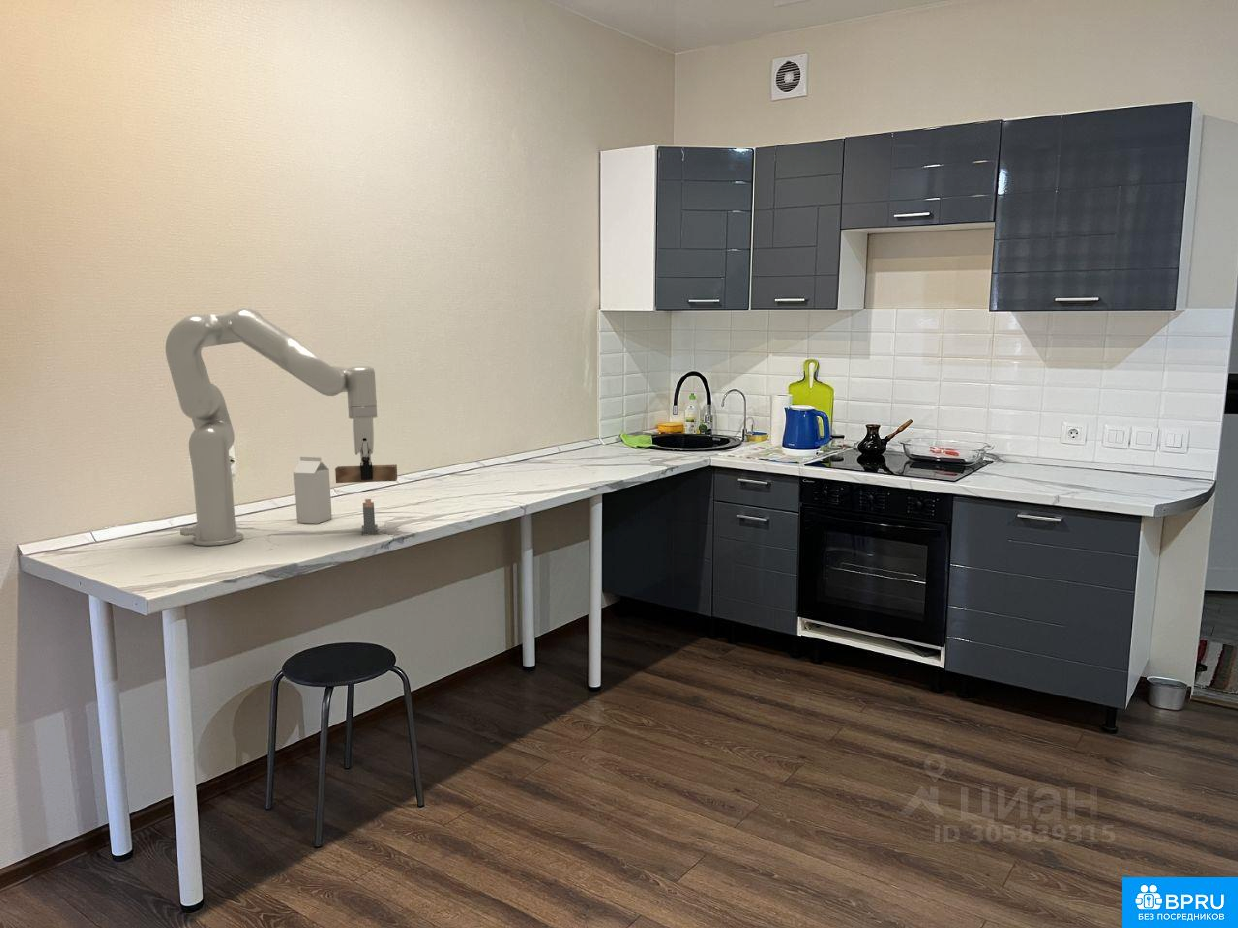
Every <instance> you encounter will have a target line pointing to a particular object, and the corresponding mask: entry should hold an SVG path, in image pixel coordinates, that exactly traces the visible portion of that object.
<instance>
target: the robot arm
mask: <svg viewBox="0 0 1238 928" xmlns="http://www.w3.org/2000/svg"><path fill="white" fill-rule="evenodd" d="M237 343H242V344H244V345H245V346H246V347H249V348H250V349H252V350H253V351H256V352H257V353H258V354H260V355H261V356H263V357H264V358H265V359H268V360H269V361H271V362H272V363H273V364H275V365H277V366H278V367H279V368H281V369H283V370H284V371H286V372H288V373H289V374H291V375H292V376H293V377H295V378H296V379H298V380H299V381H301V382H302V383H303V384H305V385H306V386H308V387H310V388H312V389H313V390H315V391H317V392H318V393H319V394H322V395H324V396H327V397H335V396H337V395H339V394H341V393H347V405H348V406H347V407H348V418H349V419H352V420H353V421H352V433H353V434H352V435H353V445H354V455H356V456H357V455H358V454H359V456H360V457H359V458H360V463H359V466H360V473H361V480H372V479H373V470H372V465H373V462H372V456H371V455H372V454H373V453H374V445H375V444H374V441H375V432H374V418H378V406H377V405H378V403H377V402H378V401H377V387H376V386H377V385H376V384H377V383H376V372H375V369H374V368H373V367H371V366H350V367H344V366H334V365H333V366H331V365H329V364H328V363H327V362H325V361H323V360H322V359H321V358H319V357H317V356H316V355H314V354H313V353H311V352H310V351H309V350H308V349H307V348H306V347H304V346H303V345H302V344H301V342H300V341H299V340H298V339H296V338H295V337H294V336H293V335H291V334H290V333H288V332H287V331H285V330H283V329H282V328H280V327H278V326H277V325H276V324H274V323H272V322H271V321H269V320H268V319H266V318H265V317H264V316H263V315H262V314H261V313H260V312H259V311H257V310H256V309H252V308H239V309H237V310H235V311H226V312H218V313H209V314H191V315H188V316H186V317H184V318H183V319H180V320H179V321H178V322H177V323H176V324H175V325H173V327H172V328H171V330H170V331H169V333H168V335H167V337H166V341H165V354H166V355H165V356H166V361H167V365H168V367H169V371H170V374H171V379H172V381H173V385H174V388H175V389H174V390H175V393H176V395H177V399H178V404H179V407H180V410H181V411H182V413H183V414H184V415H185V416H186V417H187V418H189V419H191V421H192V424H193V427H194V430H193V431H192V433H191V434H190V436H189V440H188V452H189V456H190V463H191V469H192V478H193V489H194V500H195V501H194V502H195V511H196V512H195V513H196V514H195V515H196V525H194V526H192V527H181V528H179V534H180V536H184V537H187V536H188V537H189V536H193V537H192V539H191V543H192V544H193V545H195V546H201V547H203V546H204V547H205V546H206V547H209V546H210V547H211V546H221V545H222V546H223V545H229V544H233V543H236V542H239V541H242V540H243V539H244V534H243V533H241V532H240V531H237V523H236V509H235V497H234V496H235V495H234V483H233V472H232V464H231V458H230V457H231V456H230V450H231V448H232V447H233V445H234V443H235V438H236V436H235V430H234V426H233V424H232V420H231V417H230V414H229V411H228V407H227V403H226V400H225V398H224V394H223V393H222V391H221V389H219V388H218V386H217V385H215V384H214V383H212V382H211V381H210V376H209V375H208V370H207V366H206V364H205V361H204V358H203V355H202V349H203V348H207V347H214V346H222V345H229V344H237Z"/></svg>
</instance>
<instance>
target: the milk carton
mask: <svg viewBox="0 0 1238 928" xmlns="http://www.w3.org/2000/svg"><path fill="white" fill-rule="evenodd" d="M330 481H331V480H330V469H329V468H328V467H327V465H325V464H324V463H323V461H322V457H319V456H318V457H315V456H313V457H312V456H299V462H298V463H297V465H296V467H295V469H294V470H293V483H294V501H295V514H296V515H295V516H296V523H300V524H313V525H314V524H322V523H323V522H327V521H329V520H332V518H333V517H332V516H333V515H332V501H331V485H330Z"/></svg>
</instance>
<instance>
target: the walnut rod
mask: <svg viewBox="0 0 1238 928" xmlns="http://www.w3.org/2000/svg"><path fill="white" fill-rule="evenodd" d="M372 470H373V479H372V480H361V473H360V465H343V466H341V465H340V466H336V467H335V468H334V472H335V474H334V475H335V476H334V477H335V483H336V484H348V483H349V484H351V483H353V484H354V483H375V482H377V483H379V482H380V483H382V482H397V480H398V465H397V464H374V465H373V464H372Z"/></svg>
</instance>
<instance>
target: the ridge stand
mask: <svg viewBox="0 0 1238 928" xmlns="http://www.w3.org/2000/svg"><path fill="white" fill-rule="evenodd" d="M362 513H363V514H362V517H363V525H361V536H364V535H363V534H369V535H378V534H379V525H378V524H377V523H376V519H375V518H376V517H375V516H376V515H375V514H376V513H375V503H374V502H373V501H372V498H366V499H364V502H362Z"/></svg>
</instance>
